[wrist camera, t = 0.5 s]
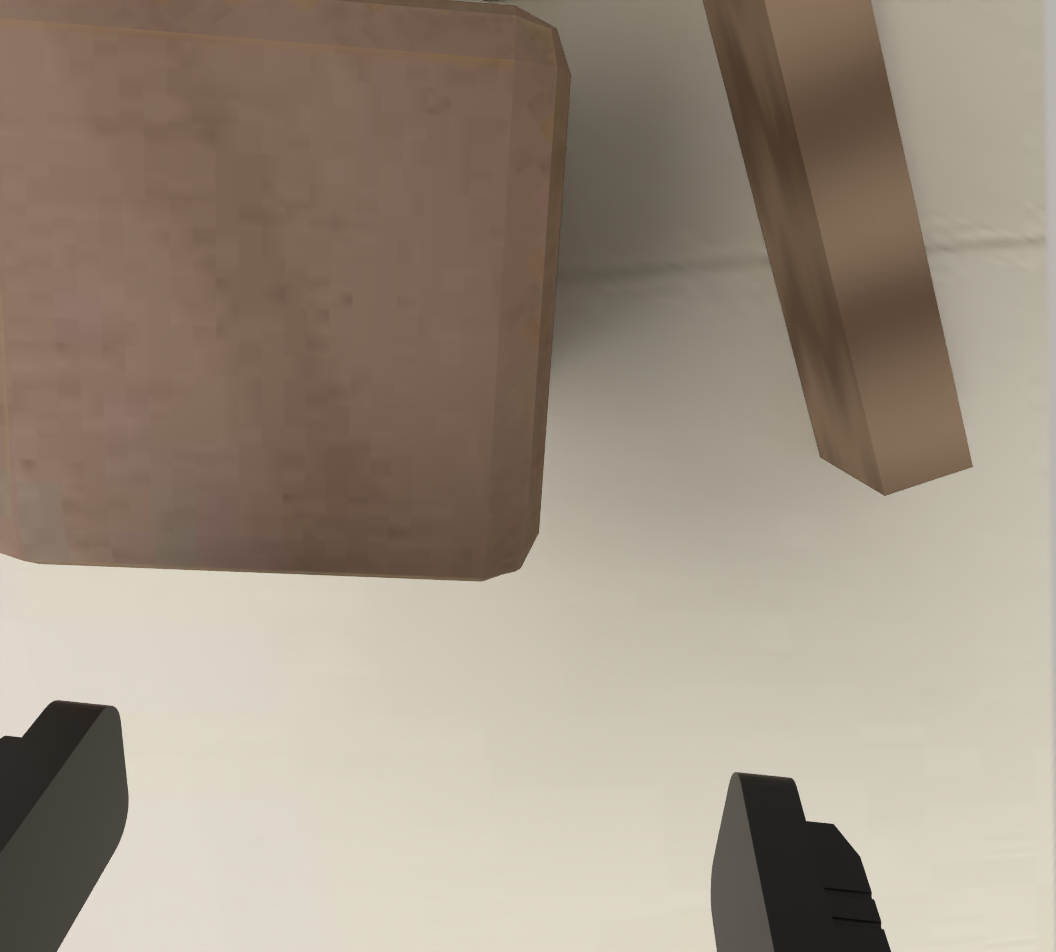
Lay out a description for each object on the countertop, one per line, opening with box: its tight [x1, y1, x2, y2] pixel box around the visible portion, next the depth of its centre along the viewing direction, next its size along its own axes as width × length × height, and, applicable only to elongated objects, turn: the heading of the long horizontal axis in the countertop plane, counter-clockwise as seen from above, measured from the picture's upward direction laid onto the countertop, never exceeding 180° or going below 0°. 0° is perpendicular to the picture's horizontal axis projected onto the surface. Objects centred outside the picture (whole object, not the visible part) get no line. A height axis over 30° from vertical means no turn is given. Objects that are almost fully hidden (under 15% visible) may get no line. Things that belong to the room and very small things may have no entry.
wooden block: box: [0, 0, 571, 581], centre depth 26 cm, size 10×10×20 cm
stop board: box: [703, 0, 973, 496], centre depth 33 cm, size 24×3×6 cm, turn 18°
